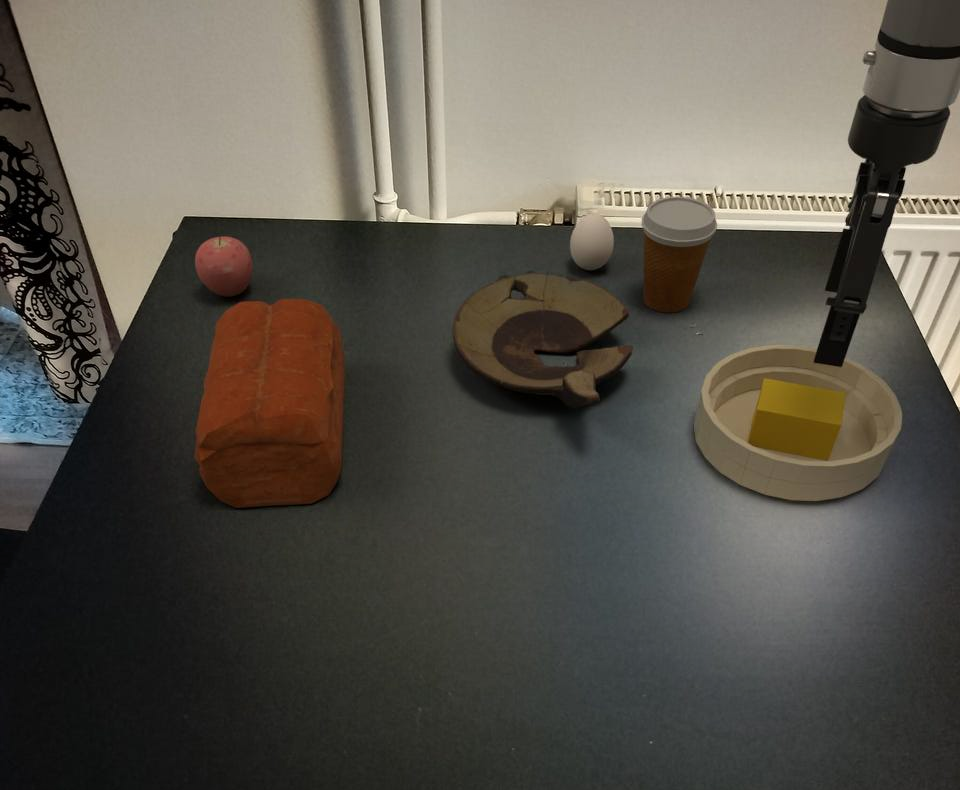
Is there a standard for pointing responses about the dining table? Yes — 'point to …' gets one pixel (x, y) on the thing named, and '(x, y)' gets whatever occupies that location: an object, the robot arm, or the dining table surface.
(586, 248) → the egg
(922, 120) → the robot arm
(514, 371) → the broken ceramic plate
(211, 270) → the apple
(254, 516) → the dining table surface
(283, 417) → the bread
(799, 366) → the bowl
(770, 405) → the sponge
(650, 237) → the disposable coffee cup
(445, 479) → the dining table surface
